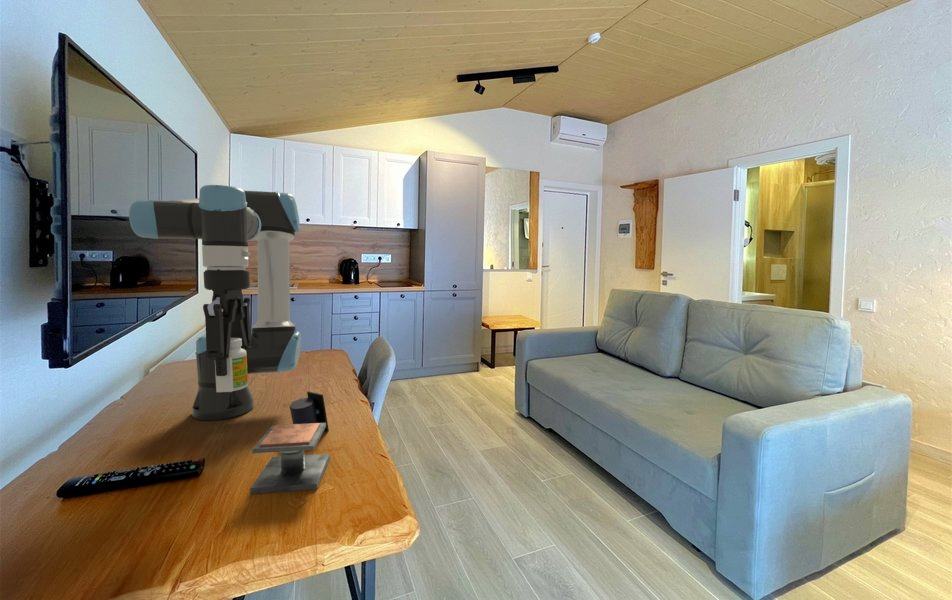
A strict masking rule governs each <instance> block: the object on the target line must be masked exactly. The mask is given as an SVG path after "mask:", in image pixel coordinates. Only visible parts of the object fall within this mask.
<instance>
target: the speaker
mask: <svg viewBox="0 0 952 600" xmlns="http://www.w3.org/2000/svg"><path fill="white" fill-rule="evenodd" d="M306 395H307V397H303V398H298V399H296V400H294V401H292V402H291V403H290V405H289V410H290V414H291V415H290V416H291V421H292V424H309V423H326V427H325V429H324V431H323V432H327V431H328V432H329V431H330V429H329V424H328V418H327V411H326V406H325V405H326V404H325V399H324V394H322V393H319V392H318V393H317V392H313V391H309V390H308V391H306Z"/></svg>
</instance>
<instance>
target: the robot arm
mask: <svg viewBox="0 0 952 600" xmlns="http://www.w3.org/2000/svg"><path fill="white" fill-rule="evenodd" d="M295 199H296V198H295V197H294V195H292V194H291V193H288V192H279V191H263V190H262V191H260V190H259V191H258V190H243V189H242V188H240V187H236V186H232V185H225V184H224V185H222V184H205V185H203V186H201V187H200V188H199V197H198V198H188V199H186V198H185V199H176V200H175V199H174V200H153V199H148V200H143V199H142V200H136V201H133V203H132V204H131V205H130V207H129V211H128V220H129V223H130V228H131V230H132V231H133V233H134V234H135V235H136V236H138V237H140V238H147V239H155V240H159V239H164V240H165V239H166V240H167V239H174V240H175V239H177V240H178V239H180V240H182V239H183V240H185V239H186V240H188V239H189V240H201V250H202V251H201V253H202V255H201V256H202V266H203V267H204V268H206V269H204V271H203V272H202V273H203V287H204V289H205V290H207V291H212V297H211V302H210V303H205V304H203V305H202V308H203V309H202V310H203V314H204V318H205V319H204V320H205V321H204V322H205V323H204V324H205V334H203V335H201V336H199V337H198V338H197V339H196V342H195V348H196V349H195V351H196V352H195V357H196V359H195V360H196V372H197V385H198V386H197V392H196V395H195V398H194V401H193V404H192V407H191V415H192V418H193V417H194V418H193V419H195V420H198V421H220V420H226V419H231V418H234V417H238V416H241V415H243V414H246V413H248V412H250V411H252V410H253V408H254V407H255V402H254V401H255V400H254V396H253V394H252V391H251V389H250V387H249V384H248V385H247V387H245V388H243V389H240V390H236V391H234V390H233V370H232V357H229V350H230V338H241V339H242V346H241V348H242V349H244V350H245V351H246V354H247V374H248V375H251V374H268V373H277V374H278V373H281V372H291V371H293V370H294V369H296V367H297V365H298V363H299V360H300V359H299V358H300V353H301V348H302V347H301V346H302V333H301V332H300V331H296V330H297V329H296V325H295V324H294V323H293V322H292V321H291V298H290V297H291V296H290V293H291V292H290V291H291V290H290V289H291V288H290V286H291V285H290V284H291V283H290V274H291V273H290V243H291V242H292V241H293V240H294V239H295V233H299V232H300V231H301V223H300V222H301V221H300V217H299V212H298V211H299V210H298V205H297V203H296V200H295ZM253 239H255V240H256V241H257V321H256V323H255V324H254V325H252V326H251V318H250V317H251V313H250V304H251V298H250V297H244V295H243V291H242V290H247V289H249V288H250V287H251V285H250V284H251V282H250V281H251V280H250V279H251V278H250V271H249V270H248V269H246V268H248V267H249V265H250V262H249V257H250V256H251V252H250V251H249V243H248V241H251V240H253Z"/></svg>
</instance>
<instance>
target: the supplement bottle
mask: <svg viewBox="0 0 952 600" xmlns="http://www.w3.org/2000/svg"><path fill="white" fill-rule="evenodd" d="M241 346H242V339H241V338H230V350H229V357H232V370H233V390H234V391H236V390H240V389H243V388H245V387H247V385H248V386H249V379H248V377H249V374H247V354H246V351H245V350H244V349H242V348H241Z"/></svg>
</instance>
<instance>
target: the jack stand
mask: <svg viewBox="0 0 952 600" xmlns="http://www.w3.org/2000/svg"><path fill="white" fill-rule="evenodd" d="M325 427H326V423H309V424H293V423H290V424H273V425H271V427H269V429H267V431H266V432H265V433H264V435H263V436H262V437H261V438H260V439H259V441H258V442H257V443H256V444H255V445H254V447H252V450H251V451H252V454H262V453H267V454H268V453H279V454H280V456H273V457H271V458H270V460H269V461H268V462H267V464H266V465H265V467H263V470H262V471H261V472H260V473H259V475H258V477H257V478H256V479H255V480H254V482H253V483H252V485H251V486H250V488H249V492H250V495H257V494H268V493H269V494H270V493H271V494H273V493H286V492H299V491H300V492H301V491H312V490H316V491H317V490H318V488H319V486H320V483H321V480H322V478H323V476H324V473H325V472H326V469H327V467H328V464H329V463H330V459H331V454H330V453H322V454H321V453H320V454H319V453H317V454H305V451H314V450H315V448H316V446H317V444H318V443H319V441H320V439H321V437H322V435H323V433H324V432H325V431H324V429H325Z"/></svg>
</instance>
